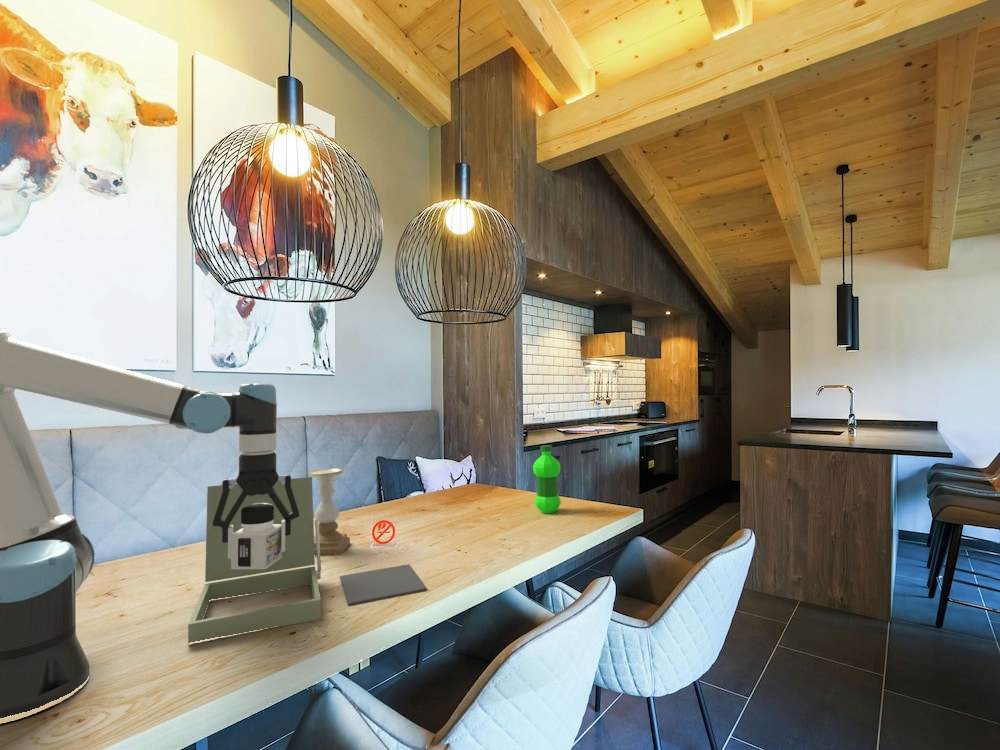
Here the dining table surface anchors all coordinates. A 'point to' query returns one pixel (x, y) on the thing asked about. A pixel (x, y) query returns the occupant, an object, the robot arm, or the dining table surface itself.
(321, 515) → the candle holder
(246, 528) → the container
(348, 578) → the mat
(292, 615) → the case
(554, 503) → the plastic bottle
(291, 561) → the lid
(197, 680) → the dining table surface
